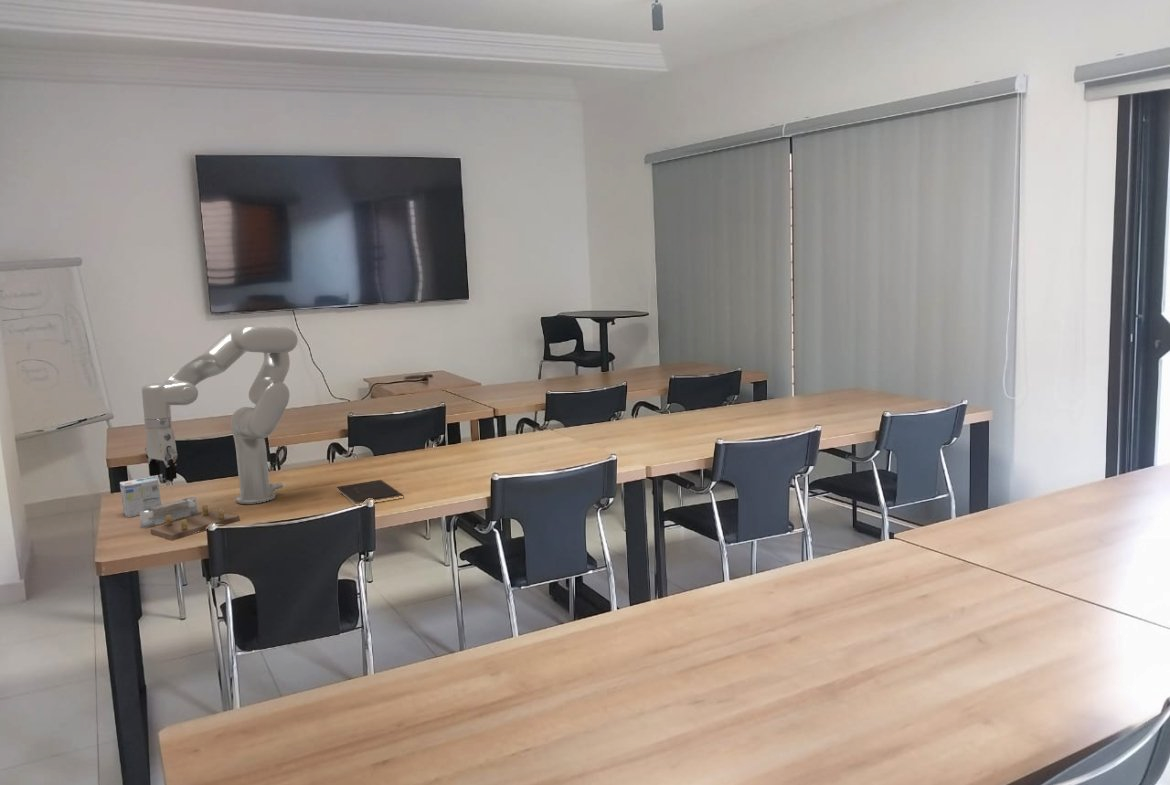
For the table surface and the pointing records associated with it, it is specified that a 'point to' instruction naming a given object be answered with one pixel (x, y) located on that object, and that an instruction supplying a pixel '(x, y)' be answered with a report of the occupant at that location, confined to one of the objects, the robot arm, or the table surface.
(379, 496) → the hardcover book
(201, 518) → the tool board
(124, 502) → the light bulb box
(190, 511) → the silver dumbbell
